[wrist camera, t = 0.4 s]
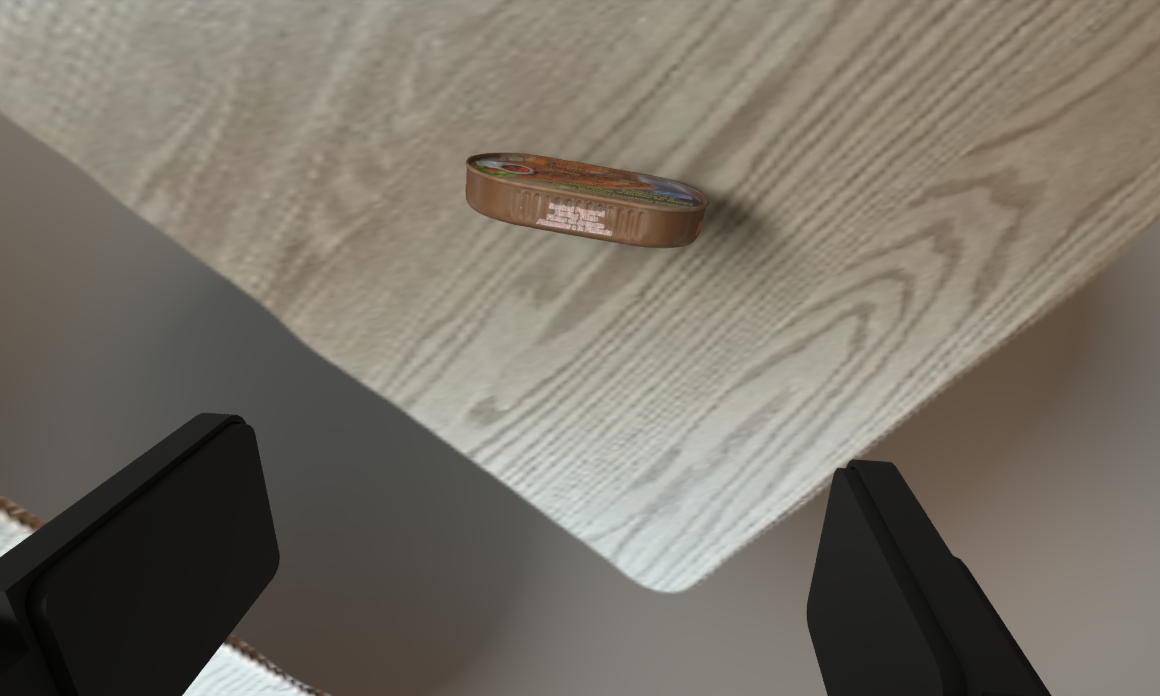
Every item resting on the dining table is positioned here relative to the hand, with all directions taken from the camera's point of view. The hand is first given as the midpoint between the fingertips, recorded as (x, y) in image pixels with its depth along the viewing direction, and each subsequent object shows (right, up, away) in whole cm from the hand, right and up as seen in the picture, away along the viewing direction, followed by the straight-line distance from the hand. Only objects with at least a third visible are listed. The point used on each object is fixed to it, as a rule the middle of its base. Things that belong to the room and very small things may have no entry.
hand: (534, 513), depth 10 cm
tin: (+2, +14, +33) cm, 36 cm away
